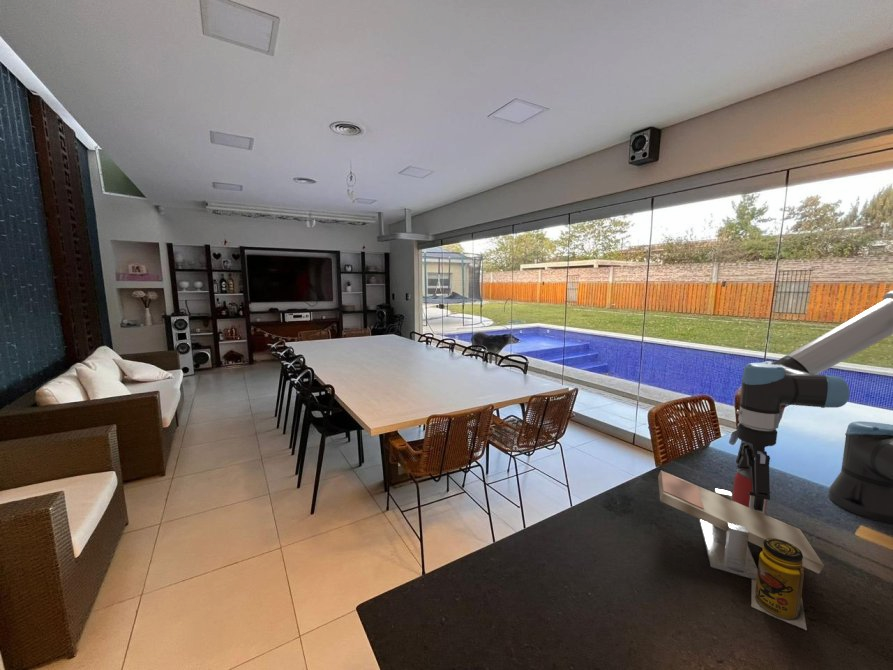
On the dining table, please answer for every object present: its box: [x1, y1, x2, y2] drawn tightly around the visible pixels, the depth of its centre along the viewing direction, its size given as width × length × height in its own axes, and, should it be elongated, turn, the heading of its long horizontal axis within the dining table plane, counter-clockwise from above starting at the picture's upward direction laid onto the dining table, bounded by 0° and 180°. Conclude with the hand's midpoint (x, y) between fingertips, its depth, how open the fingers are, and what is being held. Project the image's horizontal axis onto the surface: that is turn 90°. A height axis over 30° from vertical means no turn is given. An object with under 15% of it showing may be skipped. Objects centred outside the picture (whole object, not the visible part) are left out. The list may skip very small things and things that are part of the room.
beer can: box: [732, 469, 768, 515], centre depth 92 cm, size 7×7×12 cm
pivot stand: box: [698, 488, 758, 581], centre depth 81 cm, size 8×17×10 cm, turn 152°
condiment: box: [750, 538, 808, 631], centre depth 67 cm, size 7×8×12 cm
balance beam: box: [657, 469, 825, 574], centre depth 81 cm, size 28×12×2 cm, turn 62°
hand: (748, 506), depth 92 cm, fingers open, 12 cm apart
